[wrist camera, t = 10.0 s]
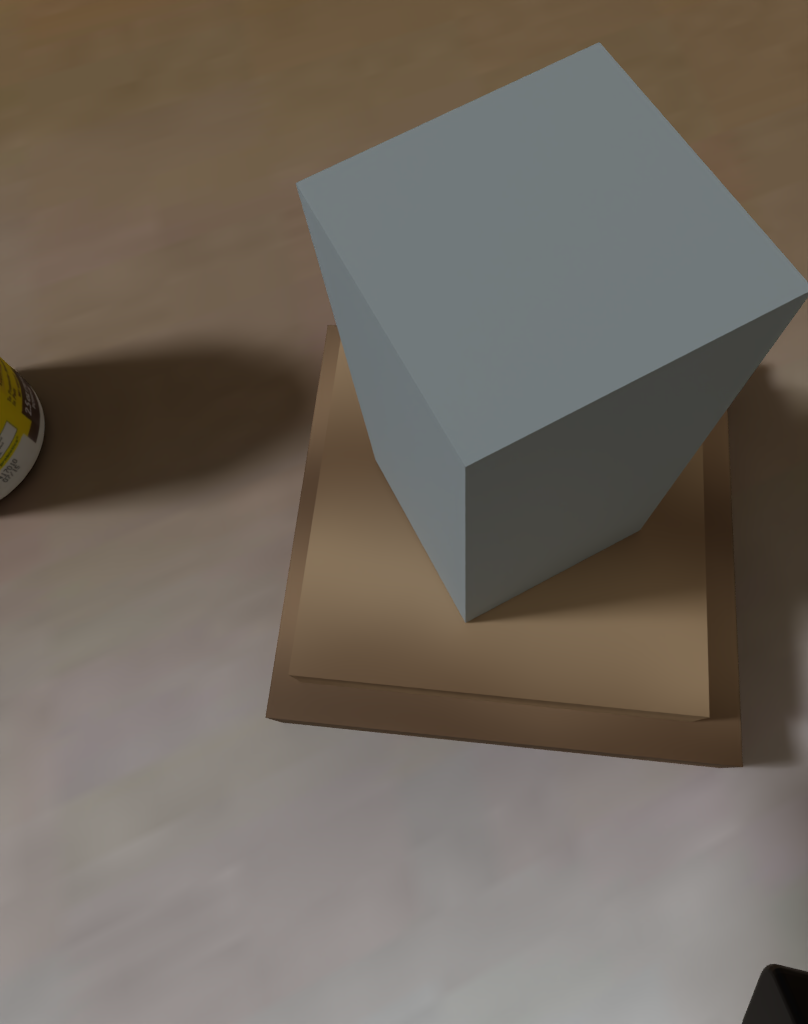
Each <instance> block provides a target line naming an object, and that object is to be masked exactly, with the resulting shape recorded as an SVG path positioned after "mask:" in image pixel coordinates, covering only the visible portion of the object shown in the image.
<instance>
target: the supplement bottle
mask: <svg viewBox="0 0 808 1024" xmlns="http://www.w3.org/2000/svg"><path fill="white" fill-rule="evenodd" d="M44 430H45V421H44V414H43V410H42V406H41V403H40V401H39V399H38V397H37V395H36V393H35V392H34V390H33V389H32V387H31V386H30V385H29V384H28V383H27V382H26V381H25V380H24V379H23V378H22V377H21V376H20V375H19V374H18V373H17V372H16V371H15V370H14V369H13V368H12V367H11V366H9V365H8V364H7V363H6V362H5V361H4V360H3V359H2V358H0V499H2V498H3V497H5V496H6V495H8V494H9V493H10V492H11V491H12V490H13V489H14V488H16V487H17V486H18V485H19V484H20V483H21V481H22V480H23V479H24V478H25V477H26V475H27V474H28V472H29V471H30V470H31V468H32V467H33V465H34V463H35V461H36V459H37V457H38V455H39V452H40V450H41V446H42V443H43V439H44Z"/></svg>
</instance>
